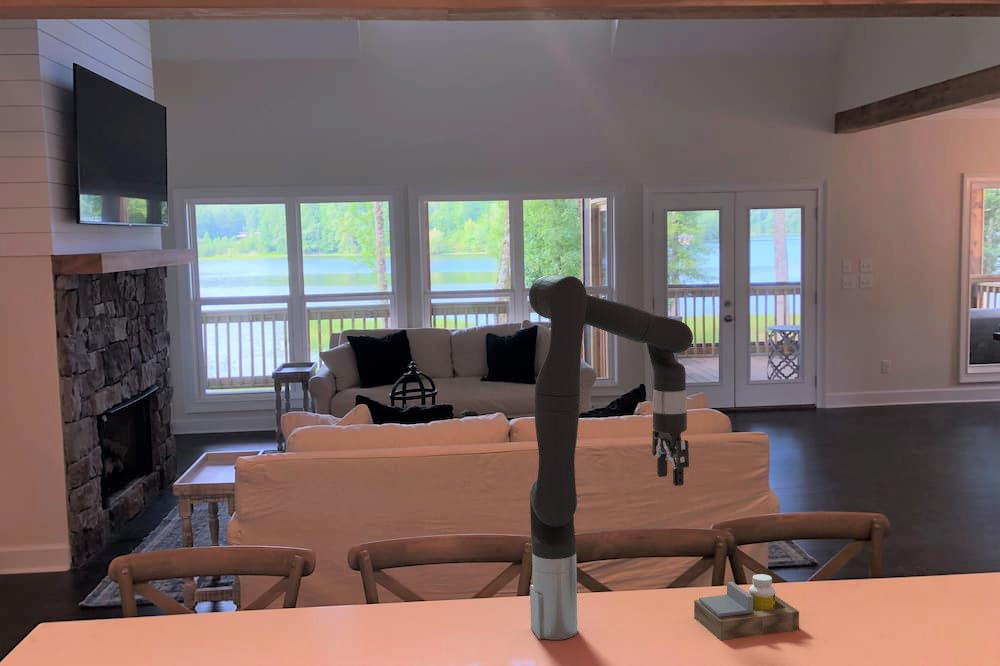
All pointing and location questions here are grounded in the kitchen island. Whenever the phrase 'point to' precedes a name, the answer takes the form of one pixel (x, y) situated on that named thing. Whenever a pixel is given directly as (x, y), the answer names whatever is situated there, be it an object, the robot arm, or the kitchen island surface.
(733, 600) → the panel
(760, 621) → the socket board
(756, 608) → the supplement bottle
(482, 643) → the kitchen island surface
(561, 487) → the robot arm
